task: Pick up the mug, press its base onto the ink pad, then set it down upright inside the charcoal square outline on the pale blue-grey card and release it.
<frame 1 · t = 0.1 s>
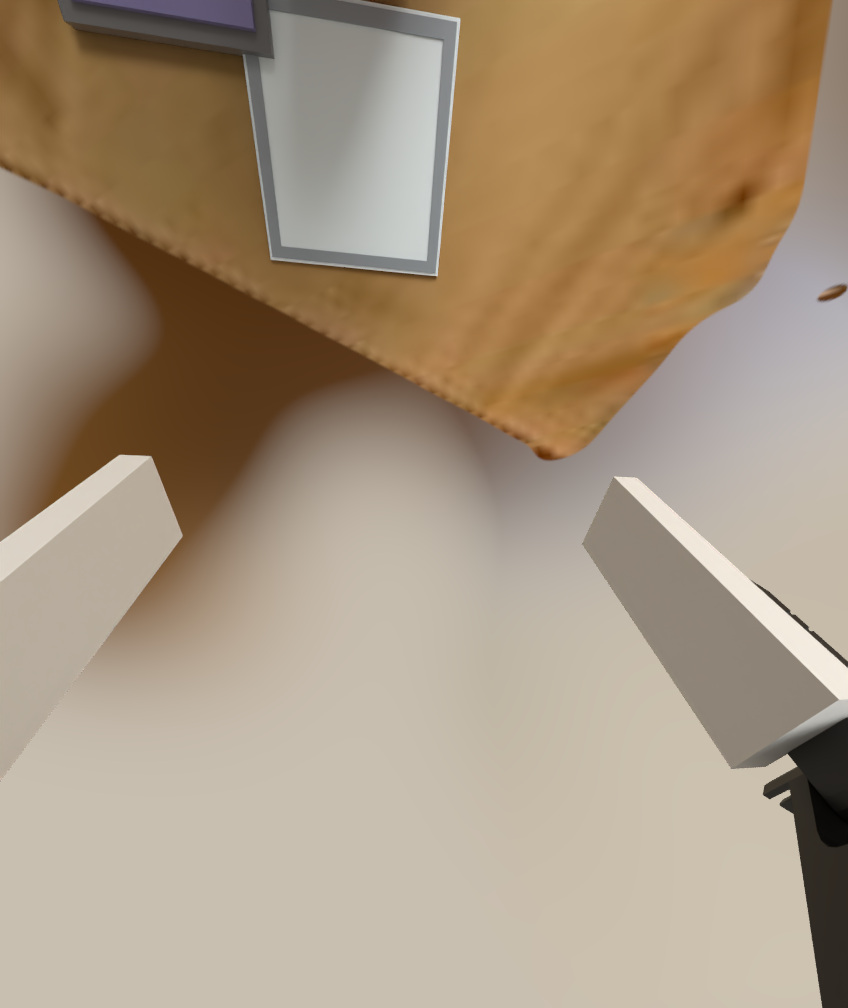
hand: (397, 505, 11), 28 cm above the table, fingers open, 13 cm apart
print card: (354, 155, 26), on the table
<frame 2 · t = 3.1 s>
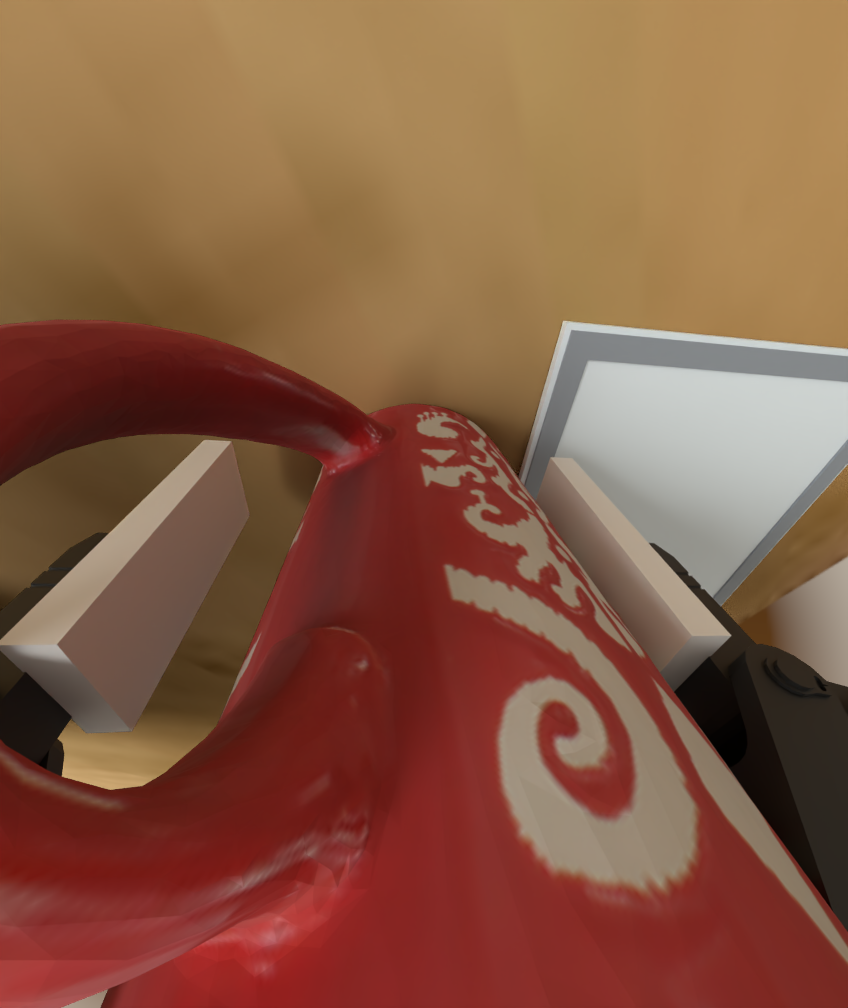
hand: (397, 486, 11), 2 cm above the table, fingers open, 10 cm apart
print card: (660, 508, 16), on the table
mug: (395, 453, 13), on the table, touching gripper
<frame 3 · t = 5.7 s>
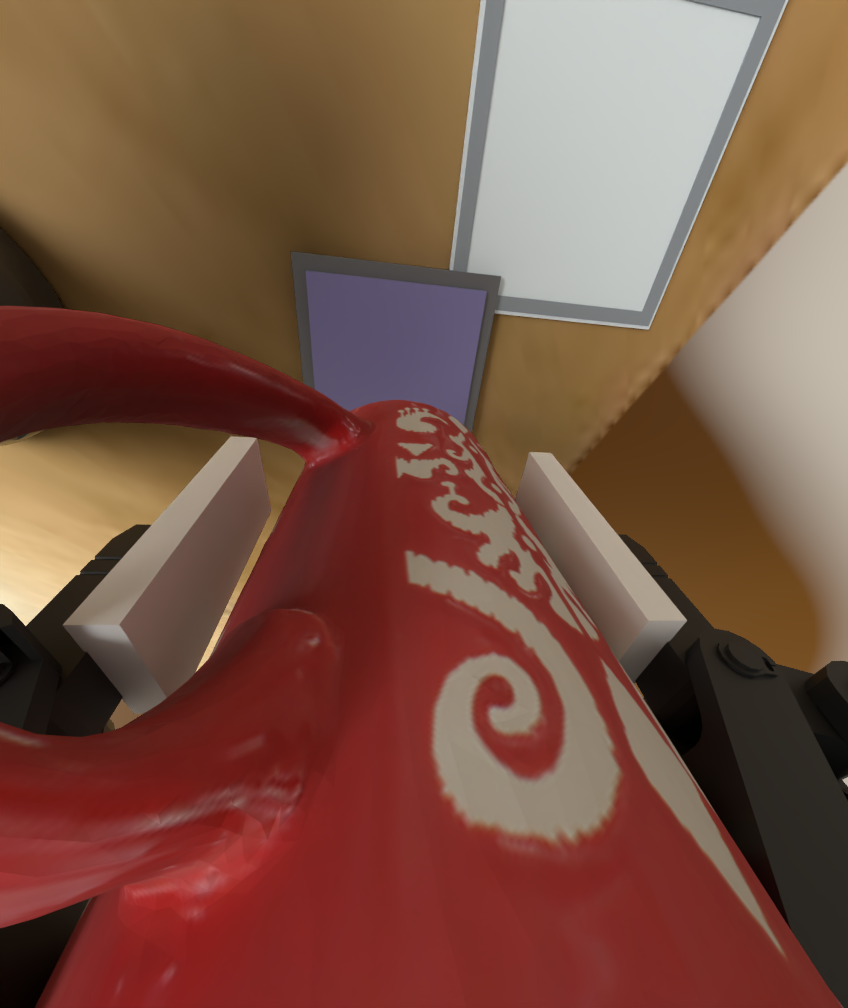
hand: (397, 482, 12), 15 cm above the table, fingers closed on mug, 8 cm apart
print card: (587, 175, 19), on the table
ink pad: (394, 368, 24), on the table
mug: (380, 448, 14), point 13 cm above the table, touching gripper
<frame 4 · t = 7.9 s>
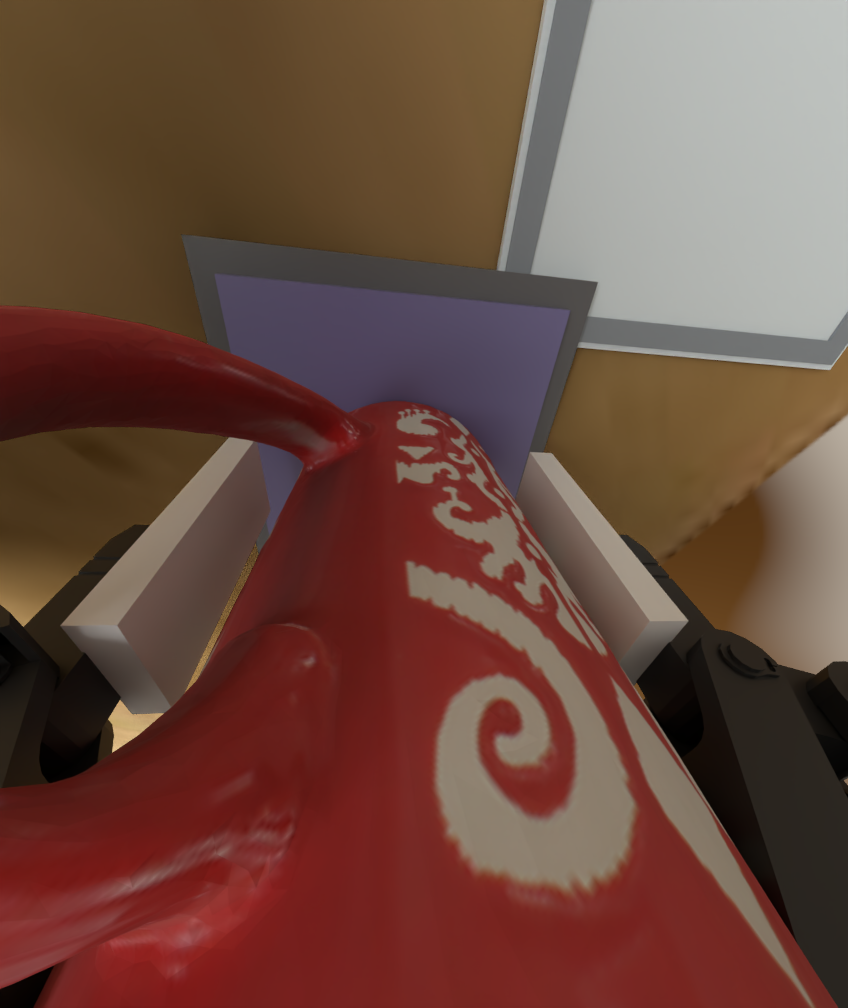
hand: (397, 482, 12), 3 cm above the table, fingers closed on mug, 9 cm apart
print card: (793, 72, 9), on the table
ink pad: (394, 437, 14), on the table
mug: (380, 450, 13), point 1 cm above the table, touching gripper, ink pad
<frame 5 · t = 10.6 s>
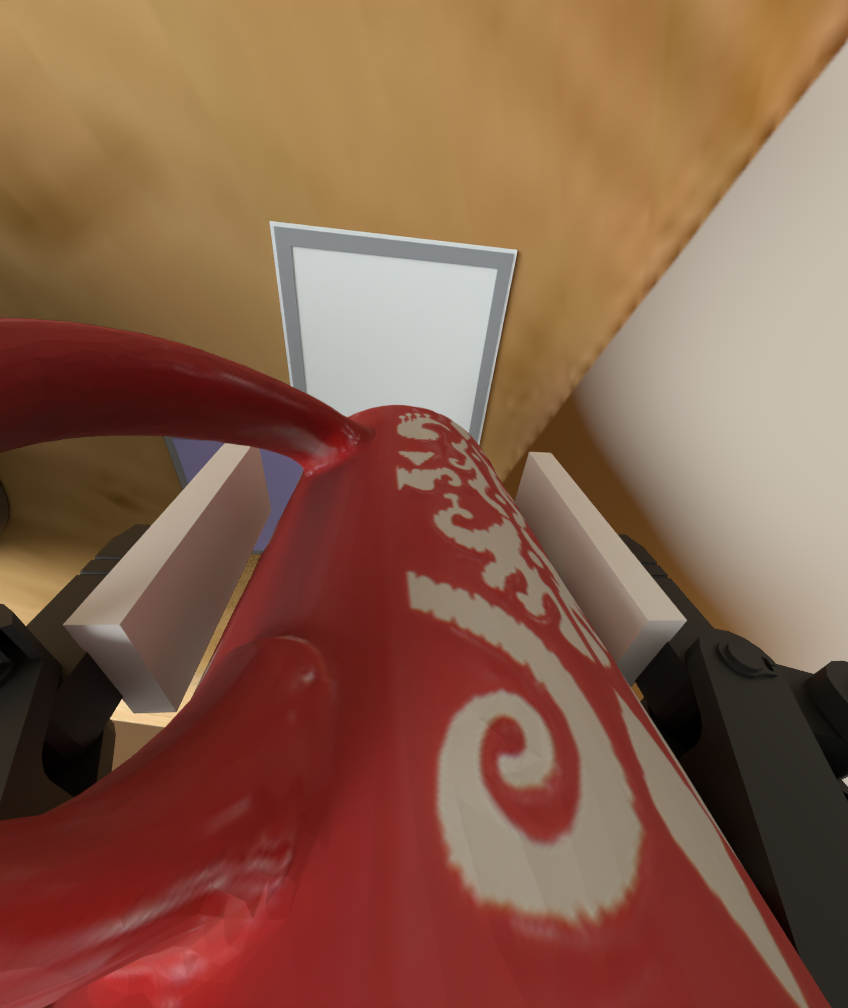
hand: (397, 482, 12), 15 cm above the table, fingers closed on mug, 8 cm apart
print card: (393, 364, 24), on the table
ink pad: (268, 492, 29), on the table
mug: (380, 454, 13), point 13 cm above the table, touching gripper
when the fingers open (4 cm above the table, at t = 13.1 s): mug drops 1 cm, resting on print card.
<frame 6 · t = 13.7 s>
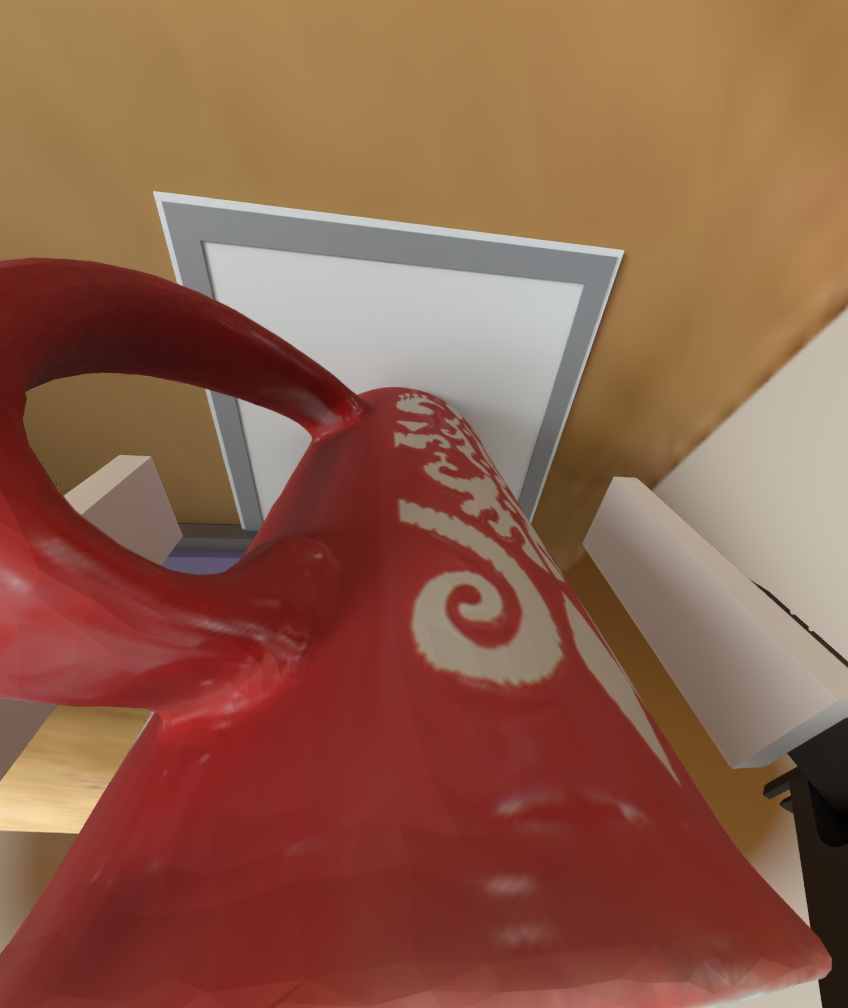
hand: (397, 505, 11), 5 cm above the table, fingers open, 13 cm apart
print card: (395, 436, 15), on the table
ink pad: (209, 606, 20), on the table
mug: (381, 434, 14), resting on print card
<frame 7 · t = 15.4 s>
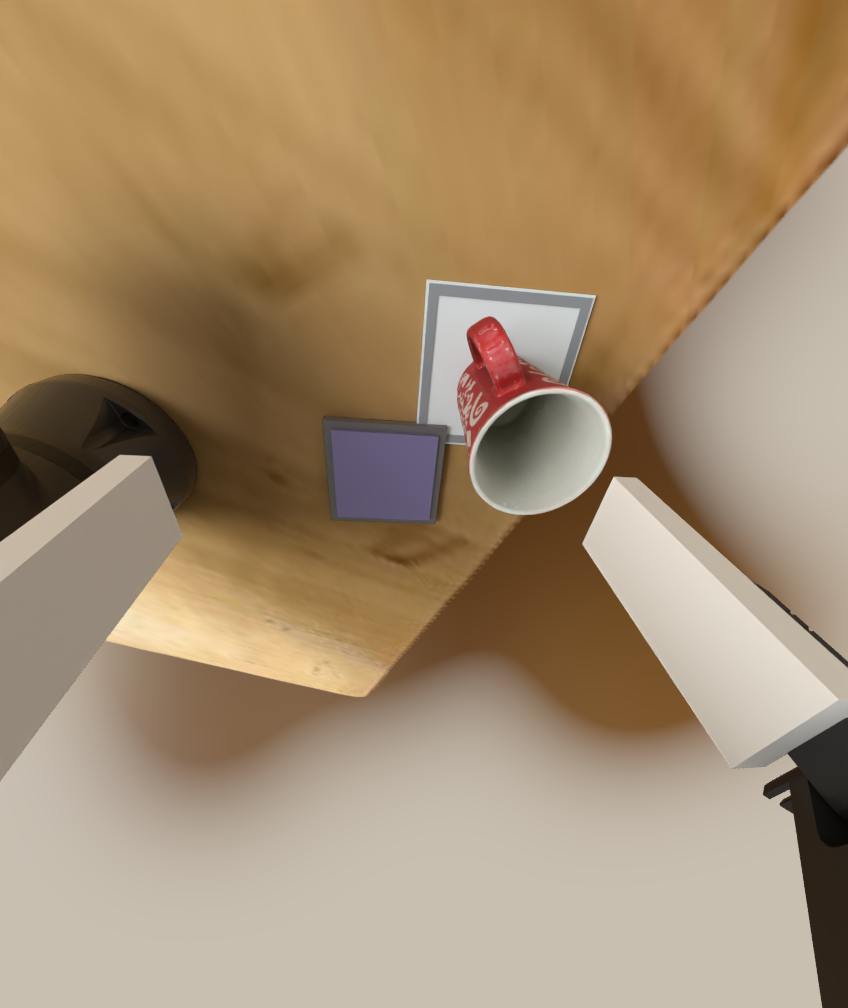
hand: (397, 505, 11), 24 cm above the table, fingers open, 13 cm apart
print card: (495, 375, 32), on the table
ink pad: (385, 472, 38), on the table
mug: (489, 374, 32), resting on print card
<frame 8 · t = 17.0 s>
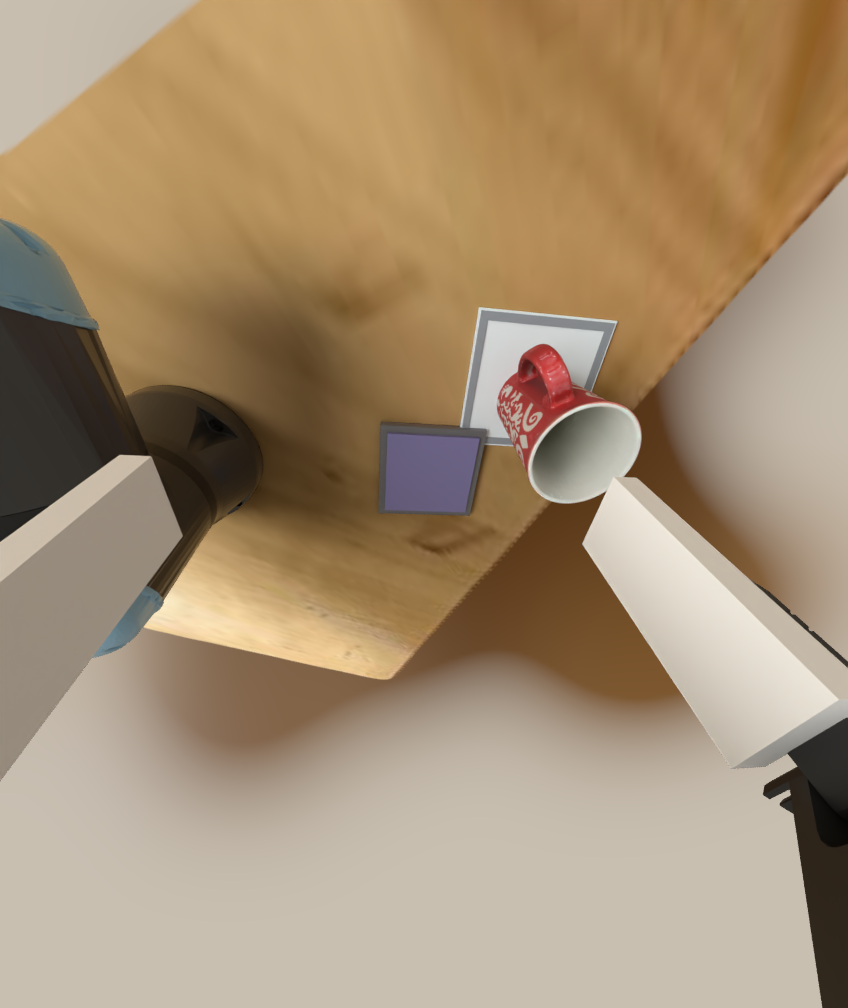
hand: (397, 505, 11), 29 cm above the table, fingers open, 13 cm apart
print card: (529, 386, 38), on the table
ink pad: (428, 470, 43), on the table
mug: (525, 385, 38), resting on print card
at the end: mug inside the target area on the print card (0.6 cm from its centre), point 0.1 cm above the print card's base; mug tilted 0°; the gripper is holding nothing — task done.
